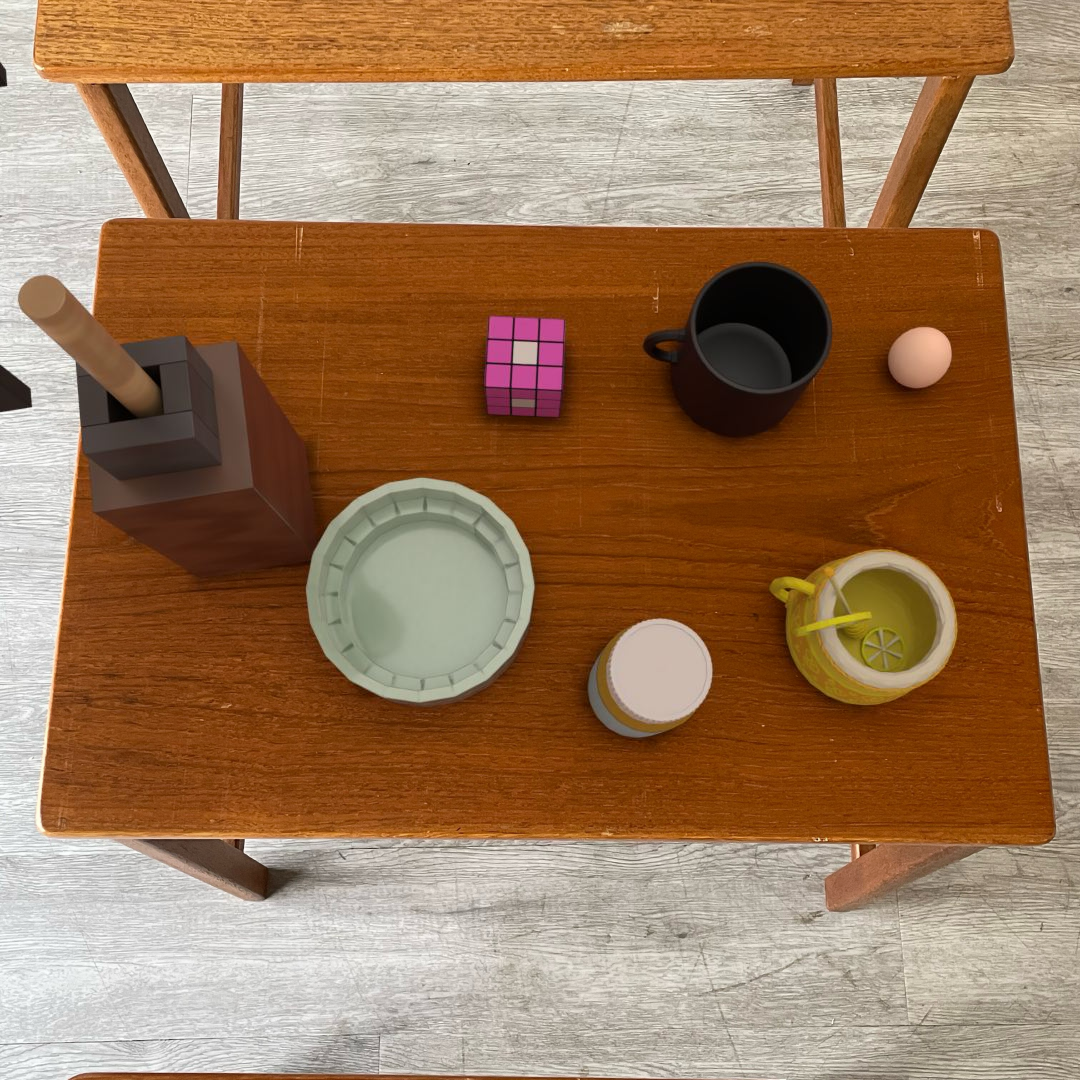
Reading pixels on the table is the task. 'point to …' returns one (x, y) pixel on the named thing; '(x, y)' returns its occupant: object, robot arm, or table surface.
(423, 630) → the bowl
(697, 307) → the mug
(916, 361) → the egg
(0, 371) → the robot arm
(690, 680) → the bottle
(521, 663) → the table surface
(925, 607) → the mug
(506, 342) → the puzzle toy
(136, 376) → the stirring stick
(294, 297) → the table surface
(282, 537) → the utensil stand
